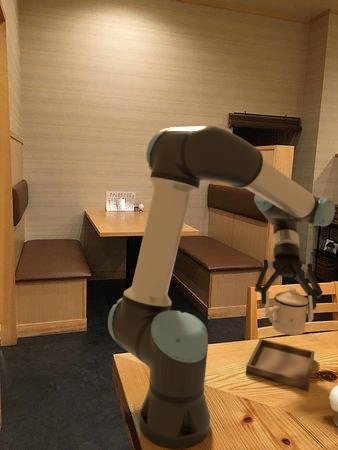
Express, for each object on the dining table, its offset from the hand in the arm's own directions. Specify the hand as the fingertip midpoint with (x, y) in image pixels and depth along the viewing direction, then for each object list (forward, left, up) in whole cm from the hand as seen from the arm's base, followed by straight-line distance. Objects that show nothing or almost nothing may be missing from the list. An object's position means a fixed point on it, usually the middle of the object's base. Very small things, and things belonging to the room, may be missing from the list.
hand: (288, 317), depth 102 cm
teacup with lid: (-1, +3, -5) cm, 6 cm away
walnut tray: (-1, +3, -16) cm, 16 cm away
